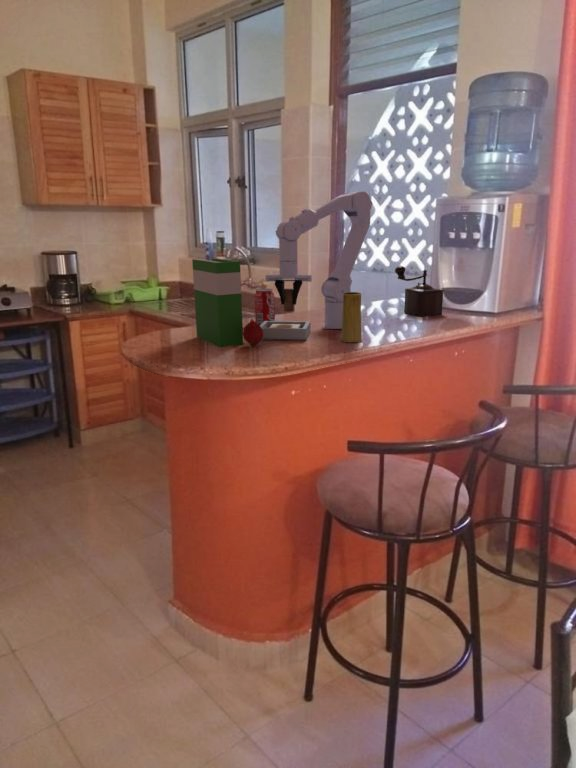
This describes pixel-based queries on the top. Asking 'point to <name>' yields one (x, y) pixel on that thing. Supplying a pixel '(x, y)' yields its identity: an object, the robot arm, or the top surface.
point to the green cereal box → (218, 301)
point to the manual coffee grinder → (421, 297)
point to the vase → (351, 317)
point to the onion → (253, 333)
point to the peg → (288, 300)
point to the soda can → (264, 305)
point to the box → (286, 330)
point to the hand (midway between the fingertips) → (288, 304)
